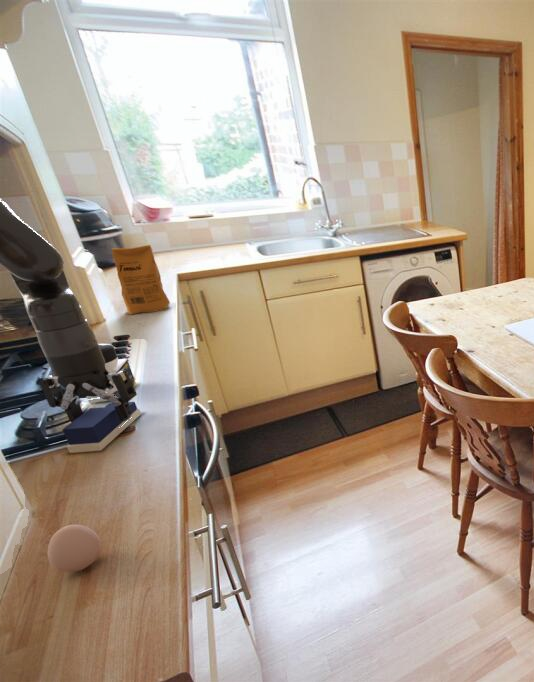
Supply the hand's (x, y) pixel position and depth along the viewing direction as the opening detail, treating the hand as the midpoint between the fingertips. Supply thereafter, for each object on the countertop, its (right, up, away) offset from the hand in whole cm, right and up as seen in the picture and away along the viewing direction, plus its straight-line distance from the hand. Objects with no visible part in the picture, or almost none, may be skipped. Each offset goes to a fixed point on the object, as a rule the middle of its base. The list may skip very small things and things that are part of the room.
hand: (103, 421), depth 93 cm
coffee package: (-46, +27, +71) cm, 89 cm away
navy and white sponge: (0, -3, +2) cm, 3 cm away
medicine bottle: (-12, +3, +16) cm, 20 cm away
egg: (+22, -16, -28) cm, 39 cm away
